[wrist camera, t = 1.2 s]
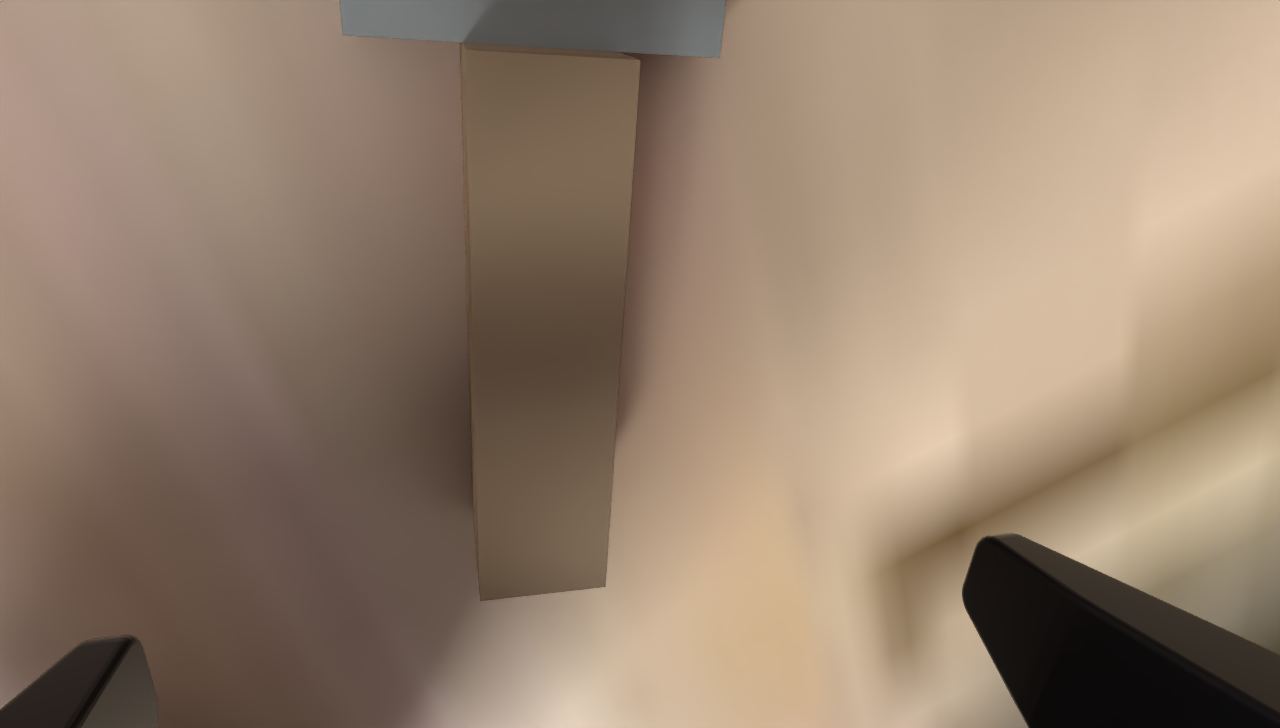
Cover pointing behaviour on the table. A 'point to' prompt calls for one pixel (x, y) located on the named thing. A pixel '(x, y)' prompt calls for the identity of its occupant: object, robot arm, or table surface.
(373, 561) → the table surface
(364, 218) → the table surface
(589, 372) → the turner
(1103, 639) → the robot arm
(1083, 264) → the table surface
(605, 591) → the table surface
